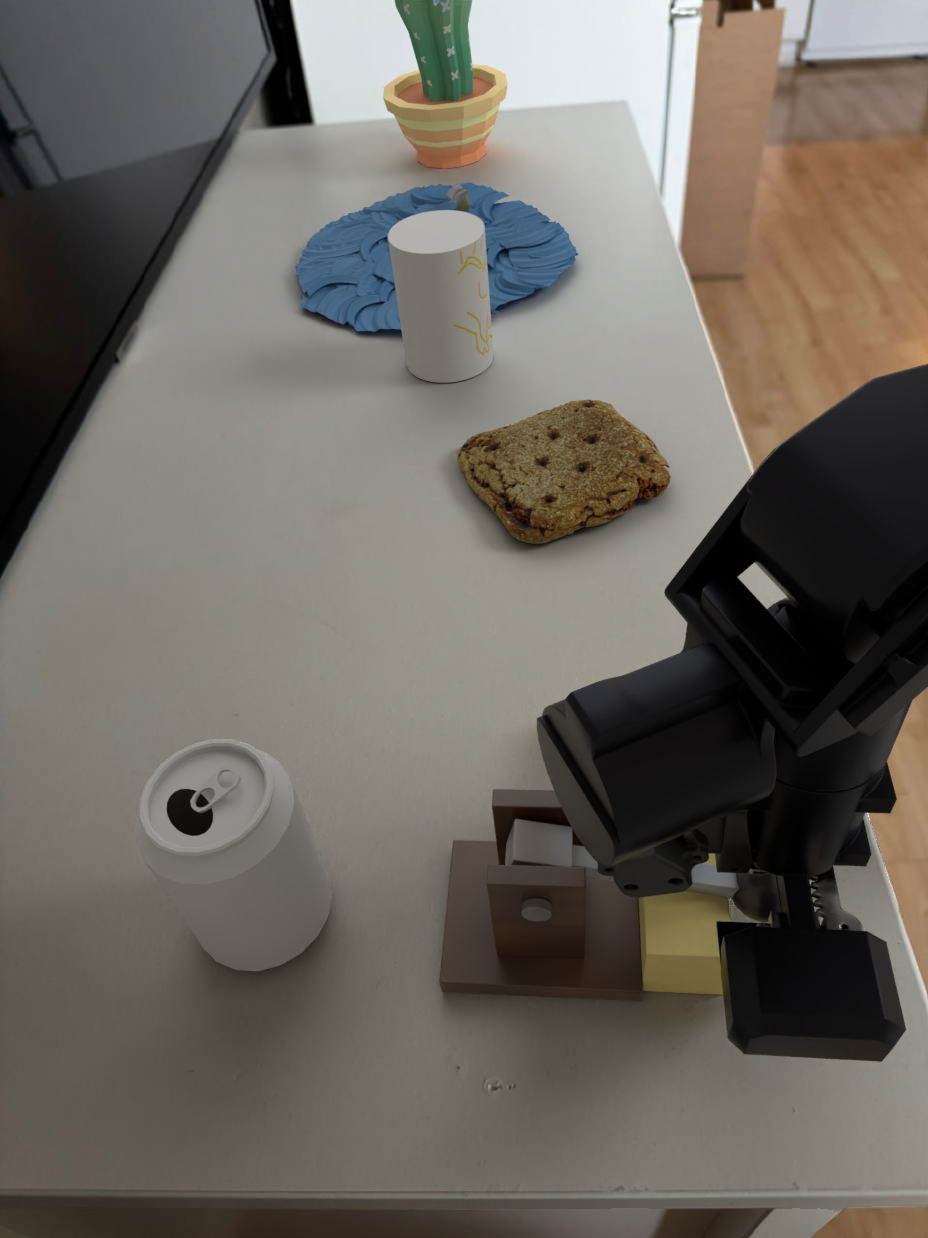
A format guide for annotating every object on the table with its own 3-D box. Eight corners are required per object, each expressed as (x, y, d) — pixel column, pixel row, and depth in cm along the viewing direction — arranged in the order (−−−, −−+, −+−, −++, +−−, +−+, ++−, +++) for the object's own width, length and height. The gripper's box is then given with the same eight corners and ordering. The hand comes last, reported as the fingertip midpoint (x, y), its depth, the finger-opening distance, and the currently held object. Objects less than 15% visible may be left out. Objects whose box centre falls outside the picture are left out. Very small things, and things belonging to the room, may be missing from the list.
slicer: (635, 855, 52) (643, 765, 46) (641, 1001, 47) (652, 922, 40) (455, 850, 53) (438, 761, 47) (441, 992, 48) (420, 914, 42)
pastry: (694, 429, 78) (697, 398, 75) (638, 572, 67) (641, 541, 65) (496, 398, 83) (494, 368, 81) (416, 526, 73) (411, 495, 70)
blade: (778, 876, 48) (803, 846, 46) (787, 937, 46) (814, 908, 43) (505, 837, 47) (516, 804, 45) (501, 897, 45) (513, 866, 43)
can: (175, 906, 53) (94, 788, 44) (287, 825, 56) (233, 698, 47) (244, 1008, 48) (170, 899, 40) (362, 914, 51) (318, 794, 43)
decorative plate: (546, 358, 89) (545, 308, 85) (254, 334, 96) (240, 287, 92) (599, 205, 107) (601, 158, 103) (350, 194, 114) (342, 150, 110)
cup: (484, 384, 85) (474, 254, 76) (396, 380, 86) (376, 252, 78) (500, 336, 90) (492, 209, 81) (417, 334, 92) (401, 209, 83)
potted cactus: (376, 179, 117) (338, -65, 99) (408, 129, 127) (380, -100, 109) (498, 179, 114) (483, -73, 96) (522, 128, 124) (512, -109, 106)
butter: (710, 865, 52) (719, 823, 48) (723, 995, 47) (734, 957, 44) (635, 863, 52) (639, 821, 49) (641, 991, 47) (646, 954, 44)
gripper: (595, 560, 44) (591, 755, 55) (602, 958, 31) (595, 1104, 42) (848, 559, 42) (790, 759, 54) (962, 973, 30) (855, 1120, 41)
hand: (754, 913), depth 48 cm, fingers open, 6 cm apart
